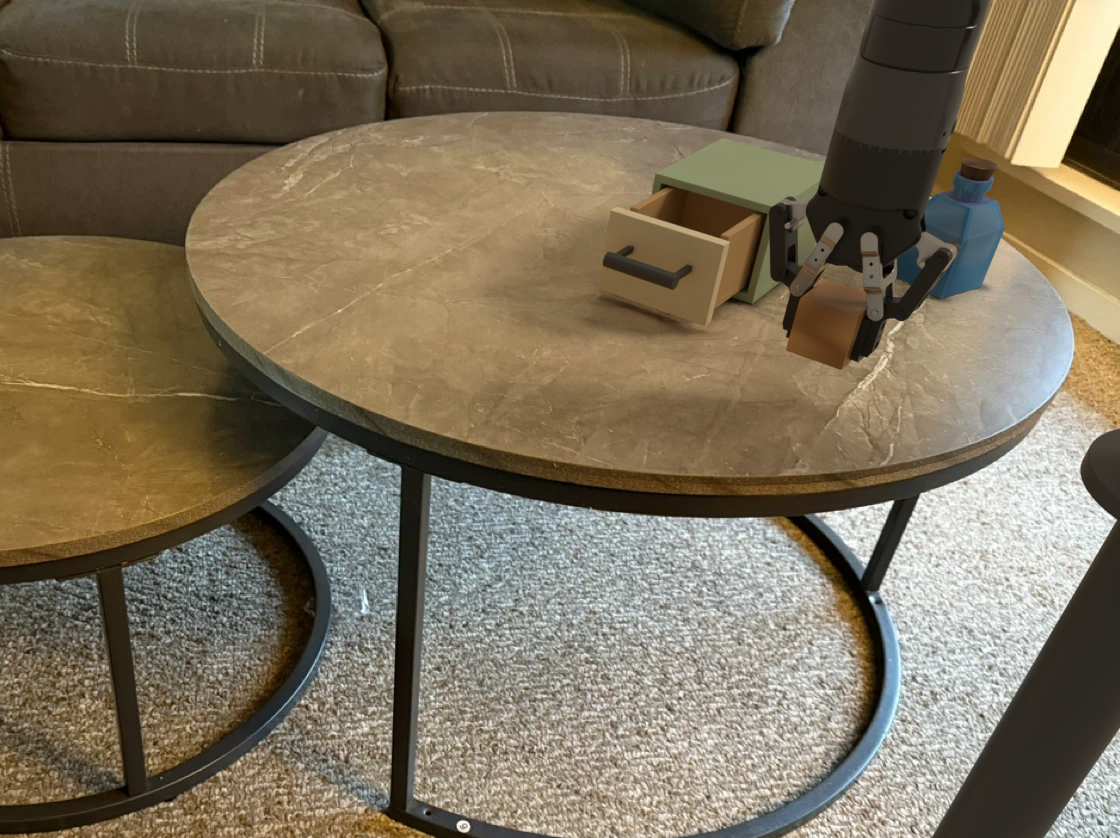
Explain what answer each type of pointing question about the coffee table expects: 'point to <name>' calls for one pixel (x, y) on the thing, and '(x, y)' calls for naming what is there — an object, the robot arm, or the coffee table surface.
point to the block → (828, 323)
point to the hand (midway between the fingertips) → (826, 345)
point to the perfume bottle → (961, 229)
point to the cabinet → (748, 192)
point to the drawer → (681, 252)
